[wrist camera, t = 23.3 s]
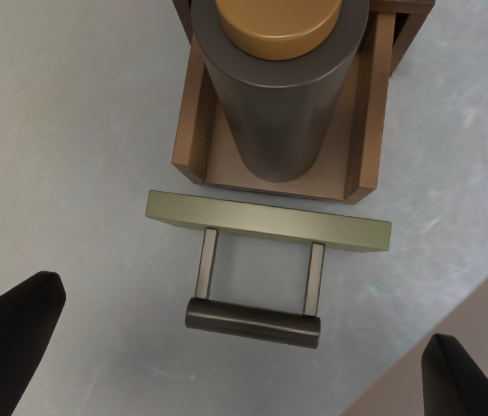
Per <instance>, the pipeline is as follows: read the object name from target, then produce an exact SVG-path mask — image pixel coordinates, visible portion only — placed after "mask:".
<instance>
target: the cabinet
mask: <svg viewBox="0 0 488 416" xmlns="http://www.w3.org/2000/svg"><path fill="white" fill-rule="evenodd" d="M172 1H173V3H174V6H175V8H176V11H177V13H178V15H179V18H180V20H181V23H182V25H183V27H184V30H185V32H186V35H187V37H188V40H189V42H190V44H192V38H193V32H194V31H193V27H192V19H191V4H192V0H172ZM434 5H435V0H369V10H372V11H384V12H396V16H395V26H394V35H393V44H392V53H391V62H390V71H389V78H390V77H391V75H392V74H393V72H394V70H395V69H396V67H397V65H398V64H399V62H400V61H401V59H402V57H403V56H404V54H405V52H406V51H407V49H408V47H409V46H410V44H411V43H412V41H413V39H414V38H415V36H416V34H417V33H418V31H419V29H420V28H421V26H422V24H423V23H424V21H425V20H426V18H427V16H428V14H429V13H430V11H431V10H432V8H433V7H434Z"/></svg>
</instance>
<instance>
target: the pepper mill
mask: <svg viewBox="0 0 488 416" xmlns="http://www.w3.org/2000/svg"><path fill="white" fill-rule="evenodd" d="M368 12H369V0H192V4H191V19H192V27H193V31H194V34H195V38H196V40H197V43H198V46H199V48H200V51H201V54H202V56H203V59H204V62H205V64H206V67H207V69H208V72H209V75H210V77H211V80H212V83H213V85H214V88H215V91H216V93H217V96H218V99H219V101H220V104H221V107H222V109H223V112H224V114H225V117H226V120H227V122H228V125H229V128H230V130H231V133H232V136H233V138H234V141H235V144H236V146H237V149H238V151H239V154H240V157H241V159H242V161H243V163H244V165H245V166H246V167H247V168H248V170H249V171H250V172H252V173H253V174H254V175H255V176H257V177H259V178H261V179H263V180H266V181H270V182H288V181H291V180H294V179H297V178H299V177H300V176H302V175H303V174H305V173H306V172H307V171H308V170H309V169H310V168H311V167H312V165H313V164H314V163H315V161H316V159H317V157H318V154H319V151H320V149H321V146H322V143H323V141H324V138H325V135H326V133H327V130H328V127H329V125H330V122H331V119H332V117H333V114H334V111H335V108H336V106H337V103H338V100H339V98H340V95H341V92H342V90H343V87H344V84H345V82H346V79H347V76H348V74H349V71H350V68H351V66H352V63H353V60H354V58H355V55H356V52H357V50H358V47H359V44H360V42H361V39H362V36H363V33H364V31H365V28H366V24H367V20H368Z"/></svg>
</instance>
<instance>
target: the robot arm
mask: <svg viewBox="0 0 488 416" xmlns="http://www.w3.org/2000/svg"><path fill="white" fill-rule="evenodd" d="M65 301H66V292H65V290H64V287H63V284H62V281H61V278H60V276H59V274H57V273H55V272H49V271H40V272H38V273H36V274H35V275H33V276H31V277H30V278H28V279H27V280H25V281H23V282H22V283H20V284H19V285H17V286H15V287H14V288H12V289H11V290H9V291H8V292H6V293H4V294H3V295H1V296H0V416H11V415H12V413H13V411H14V410H15V408H16V406H17V404H18V402H19V400H20V399H21V397H22V395H23V393H24V391H25V389H26V387H27V386H28V384H29V382H30V380H31V378H32V376H33V375H34V373H35V371H36V369H37V367H38V365H39V363H40V361H41V359H42V357H43V355H44V353H45V350H46V348H47V346H48V343H49V341H50V338H51V336H52V334H53V331H54V329H55V326H56V324H57V321H58V319H59V317H60V314H61V312H62V309H63V307H64V305H65ZM421 366H422V382H423V398H424V415H425V416H488V378H487V377H486V376H485V375H484V373H483V372H482V371H481V369H480V368H479V367H478V366H477V364H476V363H475V362H474V360H473V359H472V358H471V357H470V355H469V354H468V353H467V352H466V350H465V349H464V348H463V346H462V345H461V344H460V343H459V341H458V340H457V339H456V338H455V337H454V336H451V335H446V334H440V333H436V334H434V335H433V336H432V337H431V339H430V341H429V343H428V344H427V347H426V348H425V350H424V352H423V354H422V360H421Z"/></svg>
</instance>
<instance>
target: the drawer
mask: <svg viewBox="0 0 488 416" xmlns="http://www.w3.org/2000/svg"><path fill="white" fill-rule="evenodd" d="M395 16H396V12H384V11H372V10H369V12H368V20H367V24H366V28H365V31H364V33H363V36H362V39H361V42H360V44H359V47H358V50H357V52H356V55H355V58H354V60H353V63H352V66H351V68H350V71H349V74H348V76H347V79H346V82H345V84H344V87H343V90H342V92H341V95H340V98H339V100H338V103H337V106H336V108H335V111H334V114H333V117H332V119H331V122H330V125H329V127H328V130H327V133H326V135H325V138H324V141H323V143H322V146H321V149H320V151H319V154H318V157H317V159H316V161H315V163H314V164H313V165H312V167H311V168H310V169H309V170H308V171H307V172H306V173H305V174H303V175H302V176H300V177H299V178H297V179H294V180H291V181H288V182H270V181H266V180H263V179H261V178H259V177H257V176H255V175H254V174H253V173H252V172H250V171H249V170H248V168H247V167H246V166H245V165H244V163H243V161H242V159H241V157H240V154H239V151H238V149H237V146H236V144H235V141H234V138H233V136H232V133H231V130H230V128H229V125H228V122H227V120H226V117H225V114H224V112H223V109H222V107H221V104H220V101H219V99H218V96H217V93H216V91H215V88H214V85H213V83H212V80H211V77H210V75H209V72H208V69H207V67H206V64H205V62H204V59H203V56H202V54H201V51H200V48H199V46H198V43H197V40H196V38H195V34H194V32H193V38H192V44H191V50H190V56H189V62H188V68H187V74H186V80H185V86H184V92H183V98H182V104H181V109H180V115H179V121H178V127H177V133H176V139H175V145H174V151H173V157H172V164H173V165H174V166H175V167H176V168H177V169H178V170H179V171H181V172H182V173H183V174H184V175H185V176H186V177H187V178H188V179H190V180H191V181H192V182H193V183H194V184H201V185H209V186H217V187H224V188H232V189H240V190H248V191H255V192H263V193H271V194H278V195H286V196H294V197H302V198H309V199H317V200H325V201H333V202H340V203H348V204H357V203H358V202H359V201H360V200H362V199H363V198H365V197H366V196H367V195H369V194H370V193H371V192H373V191H374V190H376V188H377V181H378V172H379V163H380V154H381V144H382V135H383V126H384V117H385V108H386V99H387V90H388V80H389V71H390V62H391V53H392V44H393V35H394V26H395ZM145 217H148V218H151V219H154V220H157V221H160V222H164V223H167V224H170V225H173V226H176V227H183V228H190V229H198V230H205V234H204V240H203V247H202V253H201V260H200V266H199V272H198V279H197V285H196V292H195V297H192V298H191V299H190V301H189V303H188V306H187V310H186V317H185V325H186V327H187V328H192V329H198V330H204V331H210V332H216V333H222V334H228V335H234V336H240V337H246V338H252V339H258V340H264V341H270V342H276V343H282V344H288V345H294V346H300V347H306V348H312V349H317V347H318V344H319V339H320V329H321V320H320V318H319V317H316V316H317V308H318V300H319V292H320V284H321V276H322V267H323V259H324V251H325V248H332V249H339V250H346V251H353V252H360V253H364V252H377V251H388V250H389V244H390V234H391V225H392V223H391V222H388V221H380V220H373V219H365V218H358V217H350V216H343V215H335V214H328V213H320V212H313V211H305V210H297V209H290V208H282V207H275V206H267V205H260V204H252V203H245V202H237V201H230V200H222V199H215V198H207V197H199V196H192V195H184V194H177V193H169V192H162V191H154V190H150V191H149V197H148V202H147V208H146V214H145ZM219 233H226V234H233V235H240V236H247V237H254V238H261V239H268V240H275V241H283V242H290V243H297V244H304V245H311V250H310V258H309V265H308V273H307V281H306V289H305V297H304V305H303V314H297V313H290V312H284V311H278V310H271V309H265V308H259V307H252V306H246V305H240V304H234V303H227V302H221V301H215V300H208V299H209V295H210V288H211V282H212V275H213V269H214V262H215V256H216V249H217V242H218V236H219Z"/></svg>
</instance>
